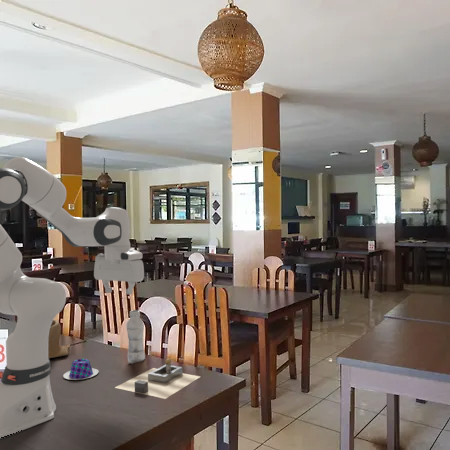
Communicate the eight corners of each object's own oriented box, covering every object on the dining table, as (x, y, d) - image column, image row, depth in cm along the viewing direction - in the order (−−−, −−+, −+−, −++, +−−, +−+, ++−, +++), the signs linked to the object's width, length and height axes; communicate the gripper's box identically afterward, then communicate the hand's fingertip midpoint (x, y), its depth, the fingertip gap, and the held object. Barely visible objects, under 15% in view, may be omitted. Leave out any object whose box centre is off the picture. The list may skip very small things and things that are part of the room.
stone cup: (31, 365, 169) (30, 326, 169) (30, 356, 180) (29, 319, 180) (73, 359, 176) (71, 321, 175) (70, 351, 186) (69, 315, 186)
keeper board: (165, 403, 131) (164, 378, 131) (114, 392, 141) (113, 368, 141) (200, 381, 149) (200, 358, 149) (153, 372, 158) (152, 351, 158)
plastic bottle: (141, 366, 165) (140, 313, 164) (124, 365, 166) (123, 312, 166) (147, 360, 171) (146, 309, 171) (131, 360, 172) (130, 309, 172)
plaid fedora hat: (105, 372, 160) (105, 358, 160) (79, 384, 149) (79, 368, 149) (82, 367, 166) (82, 353, 166) (55, 378, 155) (55, 363, 155)
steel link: (165, 383, 143) (165, 376, 143) (148, 380, 147) (147, 373, 146) (182, 373, 152) (182, 367, 152) (165, 370, 155) (165, 364, 155)
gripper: (89, 254, 157) (90, 293, 157) (134, 255, 147) (135, 296, 147) (102, 252, 162) (103, 290, 162) (146, 253, 152) (147, 293, 153)
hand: (118, 293), depth 155 cm, fingers open, 8 cm apart
